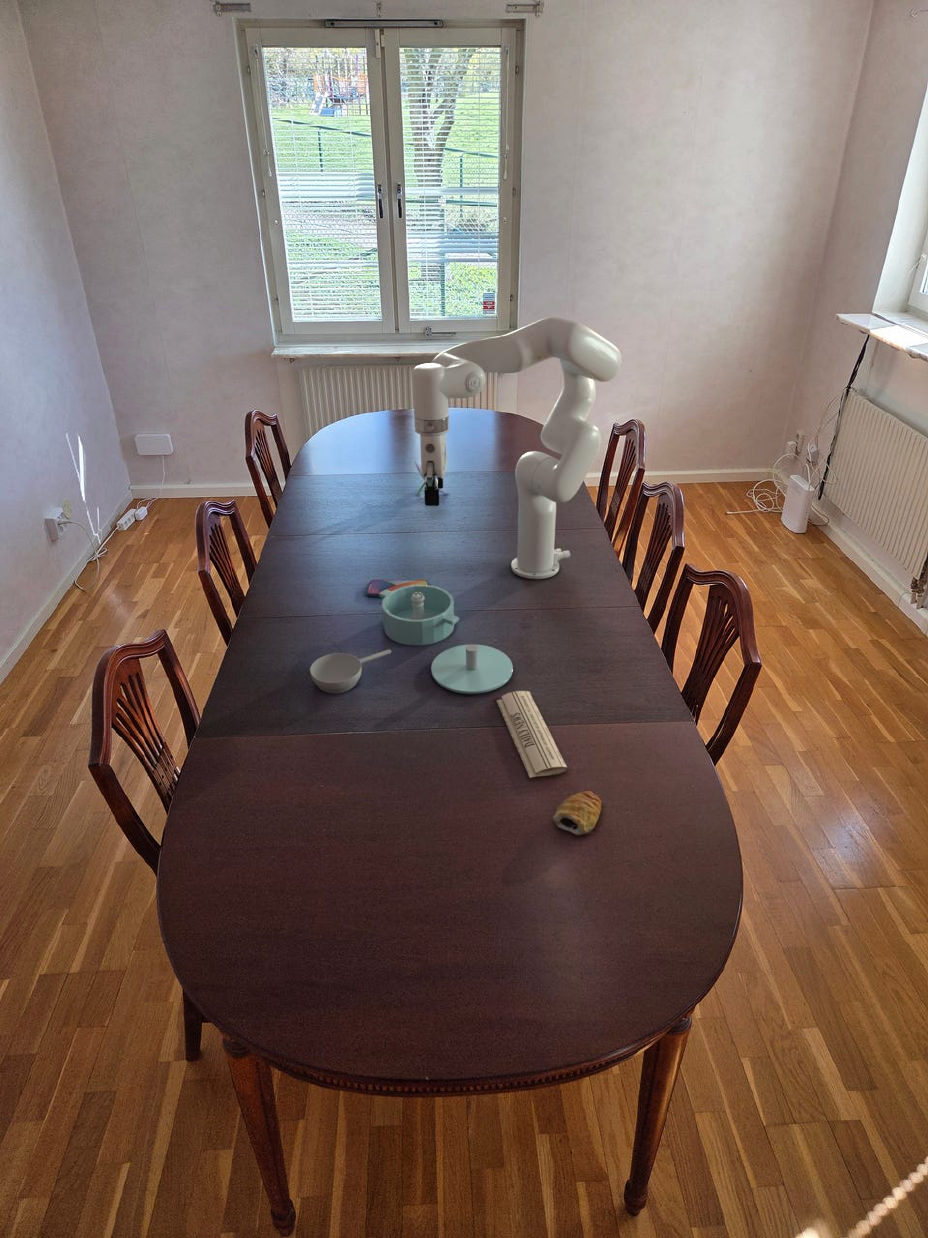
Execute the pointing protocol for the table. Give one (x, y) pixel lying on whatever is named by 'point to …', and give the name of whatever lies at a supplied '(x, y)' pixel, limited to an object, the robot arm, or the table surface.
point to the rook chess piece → (418, 607)
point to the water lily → (424, 478)
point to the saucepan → (339, 671)
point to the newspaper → (531, 735)
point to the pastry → (578, 813)
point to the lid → (472, 669)
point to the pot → (418, 631)
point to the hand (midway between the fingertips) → (434, 496)
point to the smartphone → (390, 585)
